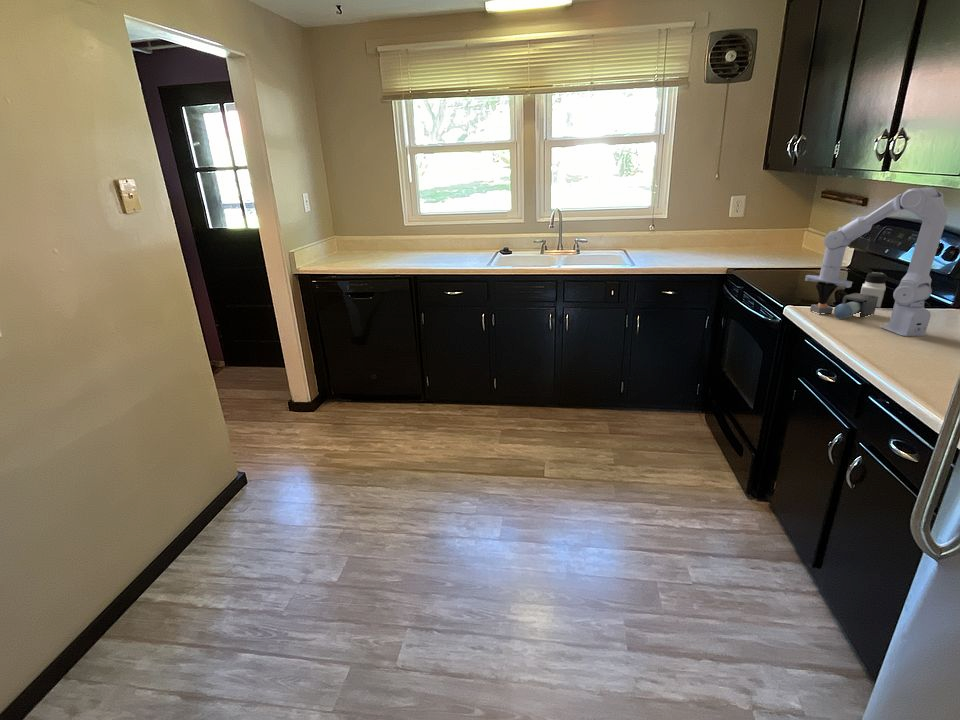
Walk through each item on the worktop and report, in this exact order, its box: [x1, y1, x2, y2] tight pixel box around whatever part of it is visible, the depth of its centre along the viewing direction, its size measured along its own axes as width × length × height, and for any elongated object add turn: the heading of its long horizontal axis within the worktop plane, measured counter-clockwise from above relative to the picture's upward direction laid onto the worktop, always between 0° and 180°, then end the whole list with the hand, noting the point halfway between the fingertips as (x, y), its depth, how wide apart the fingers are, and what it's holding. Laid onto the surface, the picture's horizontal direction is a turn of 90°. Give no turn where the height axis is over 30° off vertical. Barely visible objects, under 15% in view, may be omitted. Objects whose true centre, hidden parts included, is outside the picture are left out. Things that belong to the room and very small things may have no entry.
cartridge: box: [833, 301, 863, 319], centre depth 180 cm, size 15×5×5 cm, turn 122°
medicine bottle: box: [859, 272, 888, 309], centre depth 192 cm, size 7×7×12 cm
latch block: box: [809, 304, 834, 314], centre depth 185 cm, size 5×5×2 cm
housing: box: [841, 292, 879, 318], centre depth 182 cm, size 9×7×6 cm
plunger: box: [818, 302, 828, 307], centre depth 185 cm, size 3×3×3 cm
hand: (822, 303), depth 184 cm, fingers closed, pressing on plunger
